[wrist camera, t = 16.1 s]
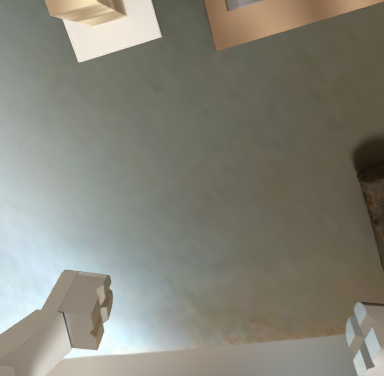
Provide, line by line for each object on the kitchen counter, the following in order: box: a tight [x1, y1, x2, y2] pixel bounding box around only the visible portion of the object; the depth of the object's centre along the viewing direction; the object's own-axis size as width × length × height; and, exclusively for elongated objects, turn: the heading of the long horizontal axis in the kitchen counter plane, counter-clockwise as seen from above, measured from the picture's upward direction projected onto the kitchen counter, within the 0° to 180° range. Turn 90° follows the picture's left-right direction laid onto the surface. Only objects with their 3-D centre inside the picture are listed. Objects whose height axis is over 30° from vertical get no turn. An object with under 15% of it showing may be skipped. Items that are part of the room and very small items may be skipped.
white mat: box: [63, 0, 162, 62], centre depth 33 cm, size 9×9×1 cm
